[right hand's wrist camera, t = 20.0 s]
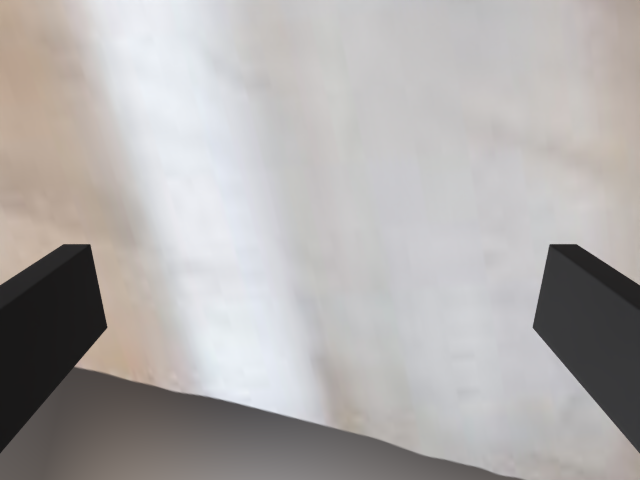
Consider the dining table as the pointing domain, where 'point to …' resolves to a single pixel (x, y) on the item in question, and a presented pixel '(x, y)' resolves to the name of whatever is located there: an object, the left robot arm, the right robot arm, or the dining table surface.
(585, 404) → the dining table surface
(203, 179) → the dining table surface
